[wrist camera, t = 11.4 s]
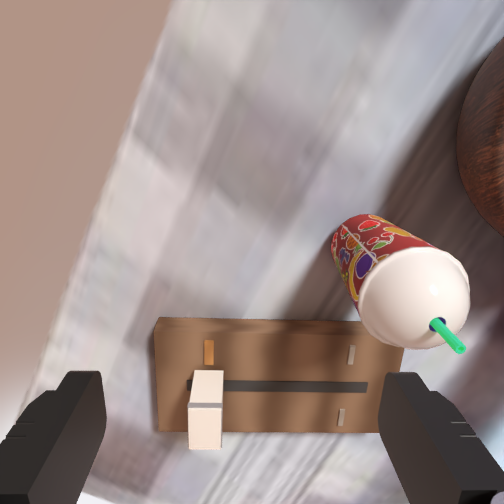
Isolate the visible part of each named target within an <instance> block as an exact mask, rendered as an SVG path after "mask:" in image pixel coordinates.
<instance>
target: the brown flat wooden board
mask: <svg viewBox="0 0 504 504" xmlns="http://www.w3.org/2000/svg"><path fill="white" fill-rule="evenodd" d="M154 350H155V369H156V388H157V407H158V426H159V431H164V432H188V413H187V406H188V403H189V402H190V396H191V389H192V383H193V377H194V371H195V370H222V371H224V372H223V415H222V432H325V433H379V428H378V412H379V406H380V401H381V396H382V390H383V385H384V380H385V376H386V374H387V373H388V372H399V371H400V366H401V362H402V357H403V352H404V348H402V347H396V346H393V345H389V344H385V343H382V342H381V341H379V340H378V339H376V338H375V337H373V336H372V335H370V333H369V332H368V331H367V329H366V328H365V326H364V325H363V324H362V322H360V321H313V320H265V319H218V318H170V317H159V318H158V321H157V324H156V326H155V329H154Z"/></svg>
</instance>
